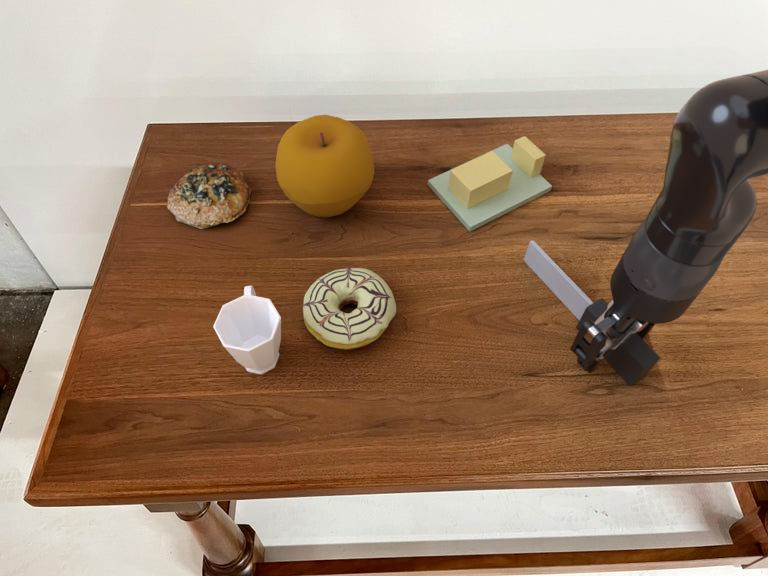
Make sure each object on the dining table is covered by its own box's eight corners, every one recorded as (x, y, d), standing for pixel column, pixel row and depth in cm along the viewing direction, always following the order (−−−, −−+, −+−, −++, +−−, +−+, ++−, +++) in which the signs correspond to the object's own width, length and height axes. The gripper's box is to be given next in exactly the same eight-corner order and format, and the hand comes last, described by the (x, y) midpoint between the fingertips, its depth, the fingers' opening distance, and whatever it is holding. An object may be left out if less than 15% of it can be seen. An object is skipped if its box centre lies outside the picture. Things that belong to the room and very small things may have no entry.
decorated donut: (412, 311, 73) (413, 294, 69) (351, 372, 68) (350, 357, 65) (348, 266, 76) (347, 247, 73) (287, 320, 72) (283, 303, 69)
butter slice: (540, 173, 84) (546, 154, 81) (530, 178, 84) (535, 159, 81) (520, 154, 86) (524, 135, 83) (510, 158, 86) (514, 140, 83)
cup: (230, 389, 67) (213, 356, 60) (228, 314, 72) (212, 275, 66) (293, 380, 68) (283, 346, 61) (286, 306, 73) (277, 267, 66)
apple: (344, 153, 88) (340, 88, 78) (393, 209, 82) (395, 145, 72) (266, 188, 84) (250, 124, 75) (311, 250, 78) (301, 188, 68)
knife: (532, 255, 77) (539, 233, 74) (645, 376, 68) (660, 357, 64) (517, 263, 77) (524, 241, 73) (630, 386, 67) (644, 368, 63)
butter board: (550, 191, 84) (552, 185, 83) (469, 232, 80) (470, 227, 79) (506, 148, 88) (507, 143, 88) (427, 185, 84) (427, 180, 84)
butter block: (508, 189, 83) (513, 170, 80) (467, 209, 80) (470, 191, 78) (488, 169, 85) (492, 150, 82) (448, 188, 83) (450, 169, 80)
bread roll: (226, 159, 87) (220, 136, 82) (268, 212, 83) (263, 190, 79) (156, 196, 83) (145, 173, 79) (197, 252, 80) (187, 232, 75)
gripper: (689, 207, 59) (631, 299, 73) (579, 269, 55) (540, 354, 69) (751, 259, 56) (678, 345, 69) (639, 330, 51) (585, 407, 65)
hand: (610, 349), depth 69 cm, fingers open, 7 cm apart
